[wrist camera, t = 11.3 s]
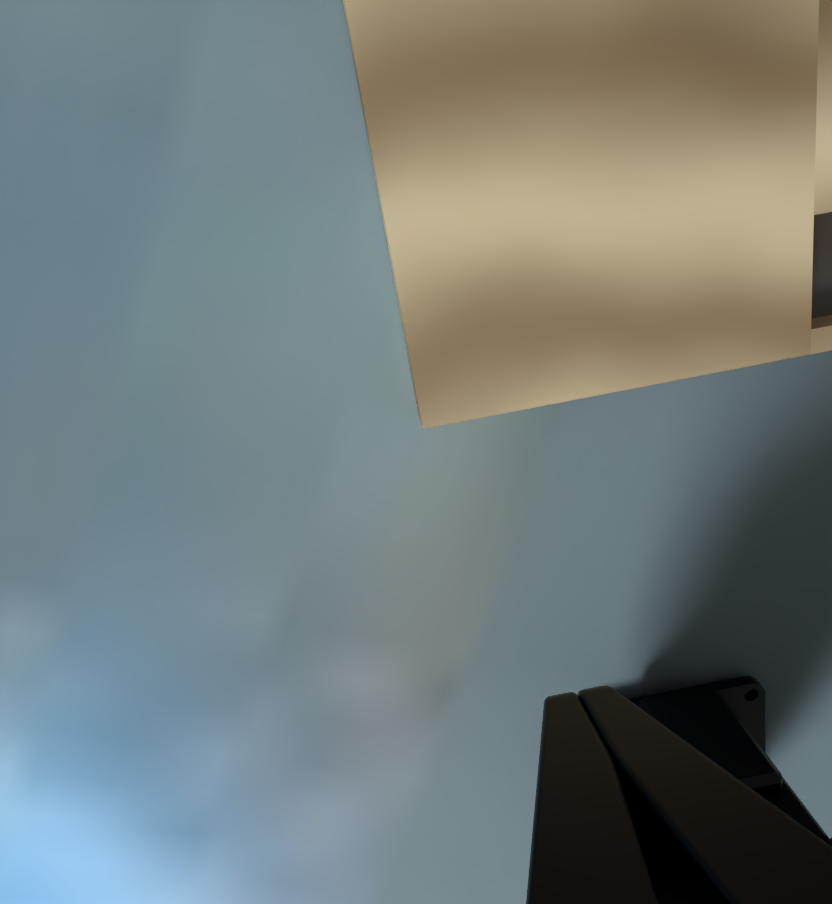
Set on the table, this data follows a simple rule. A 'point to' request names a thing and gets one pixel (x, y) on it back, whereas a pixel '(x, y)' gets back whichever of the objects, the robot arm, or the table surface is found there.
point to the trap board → (598, 190)
